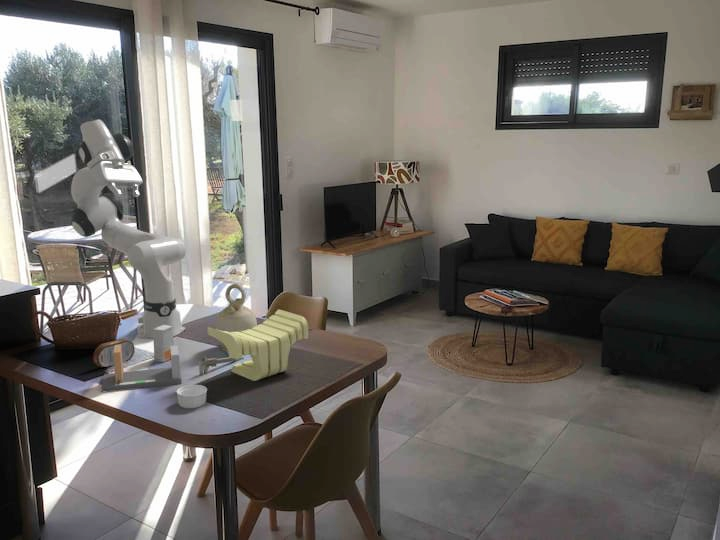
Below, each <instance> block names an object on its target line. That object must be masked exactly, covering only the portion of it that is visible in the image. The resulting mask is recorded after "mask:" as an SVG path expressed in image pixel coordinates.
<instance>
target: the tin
mask: <svg viewBox="0 0 720 540" xmlns="http://www.w3.org/2000/svg"><path fill="white" fill-rule="evenodd" d="M120 344H121V347H122V361H123V362H124V361H127V362H129V361H130V360H131V359H132V358H133V357H134V355H135V344H134V343H133V342H132V341H131V340H129V339H128V338H120V339H119V338H118V339H115V340H112V341H108V342H105V343H101V344H99V345H98V346H97V347H96V348H95V350H94V352H93V356H92V360H93V363H94V364H95V365H96V366H98V367H101V368H103V367H107V368H109V367H108V366H111V367H113V366H112V365H114V355H113V352H114V346H115V345H120ZM128 360H129V361H128ZM124 363H125V362H124Z"/></svg>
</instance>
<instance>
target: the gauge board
mask: <svg viewBox="0 0 720 540" xmlns="http://www.w3.org/2000/svg"><path fill="white" fill-rule="evenodd" d="M170 348H171V359H170V363H171V366H169V367H163V368H162V367H161V368H160V367H159V368H149V369H141V370H131V371H123V381H122V382H120V384H117V383H116V381H115V372H111V373H104V375H103V380H102V383H101V392H102V393H104V392H103V391H106V392H112V391H111V390H115V391H122V390H123V389H124V390H133V388H134V389H141V387H143V388H150V386H152V387H161V386H169V385H177V384H178V385H179V384H182V373H181V367H180V353H179V346H178V345H174V344H173V346H170ZM124 390H123V391H124Z"/></svg>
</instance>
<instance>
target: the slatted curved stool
mask: <svg viewBox="0 0 720 540" xmlns="http://www.w3.org/2000/svg"><path fill="white" fill-rule="evenodd" d="M207 335H209V336H210V337H212V338H214V339H217V340H218V341H219V340H220V341H221V342H222V343H223V344H224V345H225V346H226V348H227V350H228V352H227V353H228V358H229V357H232V358H234V359H236V360H238V359H239V358H241V357H244V356H245V357H246V356H248V355H250V358H251V359H250V360H246V361H243V362H241V363H240V362H239V363H237V364H236V363H235V364H232V368H231V370H230V372H232V373H234V374H236V375H238V376H241V377H244V378H246V379H248V380H251V381H254V382H255V381H259V380H262V379H265V378H268V377H272V376H274V375H277V374H280V373H284V372H285V371H287V369H288V360H289V356H290V351H291V346H293V345H294V344H295V343H296V342H297V341H300V340H303V339H306V340H307V339H309V323H308V321H307V319H306V318H305V317H304V316H302V315H299V314H296V313H293V312H289V311H286V310H282V309H279V308H278V309H277V310H276V311H275V312H274V314H272V315H270V317H268V319H265V320H264V321H263V322H262V323H260V324H257V326H256V327H253V328H252V330H251V329H248V330H245V331H241V332H226V331H220V330H217V329H216V328H213V327H210V326H207Z"/></svg>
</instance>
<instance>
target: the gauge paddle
mask: <svg viewBox="0 0 720 540" xmlns="http://www.w3.org/2000/svg"><path fill="white" fill-rule="evenodd" d="M113 355H114V373H115V381H116V383H117V384H120V382H122V381H123V372H124V363H123V361H122V347H121V344H120V345H115V346H114V352H113Z"/></svg>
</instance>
